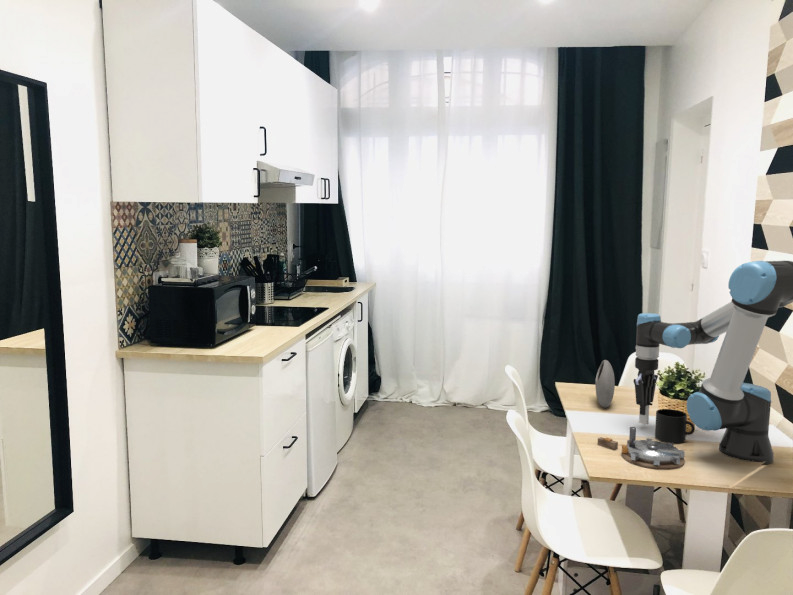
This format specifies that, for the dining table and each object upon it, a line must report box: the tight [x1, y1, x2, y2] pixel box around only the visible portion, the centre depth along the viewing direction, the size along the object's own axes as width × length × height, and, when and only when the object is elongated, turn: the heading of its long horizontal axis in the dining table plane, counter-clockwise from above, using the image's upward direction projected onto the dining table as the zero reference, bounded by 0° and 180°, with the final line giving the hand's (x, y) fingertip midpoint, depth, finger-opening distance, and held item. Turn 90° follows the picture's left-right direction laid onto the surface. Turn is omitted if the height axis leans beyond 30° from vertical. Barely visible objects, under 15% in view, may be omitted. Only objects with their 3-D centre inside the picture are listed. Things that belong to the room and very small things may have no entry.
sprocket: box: [621, 426, 685, 466], centre depth 193 cm, size 18×18×8 cm
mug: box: [654, 408, 696, 444], centre depth 210 cm, size 9×12×9 cm
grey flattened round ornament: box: [595, 359, 616, 409], centre depth 246 cm, size 18×7×19 cm, turn 165°
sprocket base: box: [620, 451, 685, 471], centre depth 193 cm, size 18×18×1 cm
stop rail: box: [597, 437, 619, 451], centre depth 202 cm, size 6×2×3 cm, turn 41°
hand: (643, 423), depth 222 cm, fingers closed
